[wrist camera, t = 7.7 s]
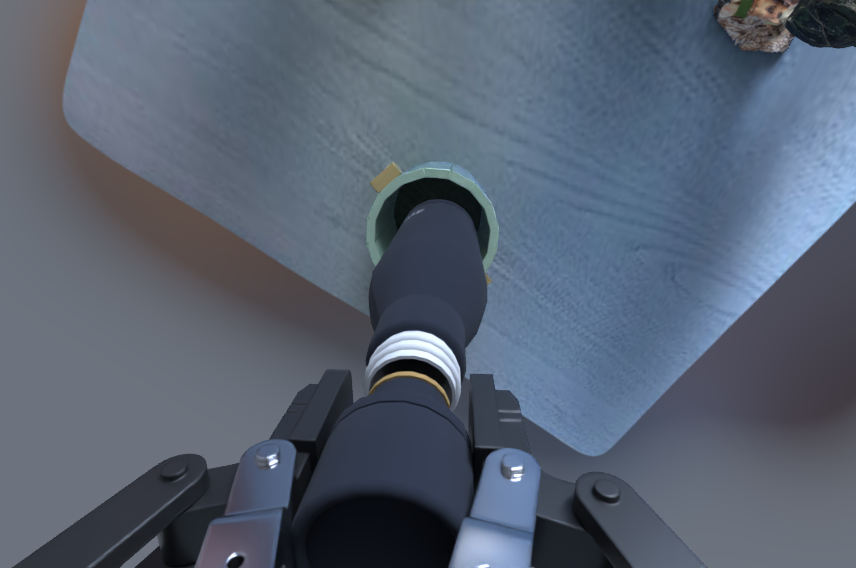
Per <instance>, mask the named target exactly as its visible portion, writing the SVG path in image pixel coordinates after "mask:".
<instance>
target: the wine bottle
mask: <svg viewBox="0 0 856 568" xmlns="http://www.w3.org/2000/svg"><path fill="white" fill-rule="evenodd" d="M486 304H487V280H486V276H485V271H484V267H483V262H482V257H481V253H480V248H479V244H478V239H477V234H476V230H475V227H474V224H473V221H472V219H471V217H470V216H469V215H468V213H467V212H466V211H465V210H464V209H463V208H462V207H460V206H459V205H457V204H456V203H454V202H451V201H447V200H444V199H435V200H428V201H426V202H423V203H421V204H418V205H417V206H416V207H415V208H414V209H413V210H411V211H410V212H409V214H408V215H407V217H406V219H405V220H404V222H403V223H402V225H401V227H400V228H399V230H398V231H397V233H396V235H395V236H394V238H393V240H392V241H391V243H390V244H389V246H388V248H387V249H386V251H385V252H384V254H383V256H382V257H381V259H380V261H379V262H378V264H377V265H376V267H375V269H374V270H373V274H372V279H371V283H370V288H369V310H370V318H371V324H372V327H373V329H374V335H373V337H372V340H371V342H370V344H369V348H368V352H367V357H366V366H367V368H366V372H365V375H364V380H363V386H364V394H365V397H363V398H360V399H359V400H357V401H356V402H355V403H353V404H352V405H351V406H349V407H348V408H346V409H345V410H344V411H343V412H342V414H341V415H340V417H339V418H338V420H337V421H336V423H335V424H334V426H333V428H332V430H331V433H330V435H329V438H328V440H327V442H326V444H325V447H324V449H323V451H322V454H321V456H320V459H319V461H318V463H317V466H316V468H315V470H314V473H313V475H312V477H311V480H310V482H309V484H308V487H307V489H306V492H305V494H304V496H303V499H302V501H301V503H300V506H299V508H298V510H297V513H296V515H295V517H294V520H293V522H292V526H291V547H292V555H293V562H294V568H448V567H449V563H450V560H451V557H452V554H453V550H454V547H455V544H456V540H457V537H458V534H459V530H460V527H461V524H462V521H463V518H464V516H465V515H467V516H469V515H470V512H471V508H472V505H473V502H474V484H473V465H472V445H471V440H470V438H469V436H468V434H467V431H466V429H465V427H464V424H463V423H462V422H461V421H460V420H459V419H458V418H457V417H456V415H455V414H454V413H453V410H454V409H455V408H456V406H457V404H458V401H459V397H460V394H461V384H462V382H463V378H464V375H465V372H466V357H465V348H466V347H467V346H468V344H469V343H470V342H471V340H472V339H473V338H474V336H475V335H476V334H477V331H478V329H479V326H480V323H481V320H482V317H483V314H484V311H485V307H486Z"/></svg>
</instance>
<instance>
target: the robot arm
mask: <svg viewBox="0 0 856 568" xmlns="http://www.w3.org/2000/svg"><path fill="white" fill-rule="evenodd" d="M352 404H353V391H352V377H351V372H350V370H333V369H330V370H329V369H327V370H326V371H325V373H324V375H323V377H322V379H321V380H320V382H319V384H309V385H308V386H306V387H305V388H304V389H303V390H301V391H300V392H298V393H297V395H296V397H295V398H294V400H293V402H292V404H291V405H290V406H289V408H288V410H287V413H286V414H284V416H283V418H282V419H281V421H280V423H279V424H278V426H277V428H276V429H275V431H274V432H273V434H272V435H271V437H270V439H269V440H266V441H262V442H260V443H257V444H255V445H254V446H252V447H251V448H249V449H248V450H247V451H246V452H245V453H244V454H243V455H242V457H241V459H240V462H239V463H237V464H232V465H228V466H222V467H217V468H212V469H207V464H206V460H205V459H204V458H203V457H202V456H200V455H196V454H183V455H178V456H175V457H171V458H169V459H167V460H165V461H163V462H161V463H159V464H158V465H156V466H155V467H153V468H152V469H150V470H149V471H148V472H146V473H145V474H144V475H142V476H141V477H139V478H138V479H136V480H135V481H134V482H132V483H131V484H129V485H128V486H126V487H125V488H124V489H122V490H121V491H119V492H118V493H117V494H115V495H114V496H112V497H111V498H110V499H108V500H107V501H105V502H104V503H102V504H101V505H100V506H98V507H97V508H95V509H94V510H93V511H91V512H90V513H88V514H87V515H86V516H84V517H83V518H81V519H80V520H79V521H77V522H76V523H74V524H73V525H72V526H70V527H69V528H67V529H66V530H65V531H63V532H62V533H60V534H59V535H57V536H56V537H55V538H53V539H52V540H50V541H49V542H48V543H46V544H45V545H43V546H42V547H40V548H39V549H38V550H36V551H35V552H33V553H32V554H31V555H29V556H28V557H27V558H25V559H24V560H22V561H21V562H20V563H18V564H17V565H15V566H14V567H12V568H120V567H121V566H122V565H123V564H124V563H125V562H126V561H127V560H129V559H130V558H131V557H132V556H133V555H134V554H135V553H137V552H138V551H139V550H140V549H141V548H142V547H144V546H145V545H146V544H147V543H148V542H149V541H151V540H152V539H153V538H154V537H155V536H156V535H157V538H158V542H159V546H158V547H157V548H156V549H155V550H154V551H153V552H152V553H151V554H149V555H148V556H147V557H146V558H145V559H144V560H143V561H142V562H140V563H139V564H138V565H137V566H136V567H135V568H294V562H293V555H292V547H291V526H292V522H293V520H294V517H295V515H296V513H297V510H298V508H299V506H300V503H301V501H302V499H303V496H304V494H305V492H306V489H307V487H308V484H309V482H310V480H311V477H312V475H313V473H314V470H315V468H316V466H317V463H318V461H319V459H320V456H321V454H322V451H323V449H324V447H325V444H326V442H327V440H328V438H329V435H330V433H331V430H332V428H333V426H334V424H335V423H336V421H337V420H338V418H339V417H340V415H341V414H342V412H343V411H344V410H345V409H346V408H348V407H349V406H351V405H352ZM469 438H470V440H471V445H472V465H473V484H474V502H473V505H472V508H471V512H470V515H469V516H467V515H465V516H464V518H463V521H462V524H461V527H460V530H459V534H458V537H457V540H456V544H455V547H454V550H453V554H452V557H451V560H450V563H449V567H448V568H531V566H532V567H535V568H707V567H706V566H705V565H704V563H703V562H702V561H701V560H700V559H699V558H698V557H697V556H696V555H695V554H694V553H693V552H692V551H691V550H690V549H689V548H688V547H687V546H686V544H685V543H684V542H683V541H682V540H681V539H680V538H679V537H678V536H677V535H676V534H675V533H674V532H673V531H672V530H671V529H670V527H669V526H668V525H667V524H666V523H665V522H664V521H663V520H662V519H661V518H660V517H659V516H658V515H657V514H656V513H655V512H654V511H653V510H652V508H650V507H649V505H648V504H647V503H646V502H645V501H644V500H643V499H642V498H641V497H640V496H639V495H638V494H637V493H636V492H635V491H634V489H632V487H630V486H629V485H628V484H627V483H626V482H624V481H623V480H621V479H620V478H618V477H616V476H613V475H610V474H607V473H603V472H589V473H586V474H583V475H581V476H580V477H579V478H578V479H577V481H576V484H574V483H570V482H567V481H563V480H560V479H557V478H555V477H553V476H550V475H549V474H547V473H545V472H544V471H542V470H541V468H540V465H539V463H538V462H537V460H535V458H534V457H533V456H531V452H530V448H529V443H528V439H527V435H526V431H525V426H524V423H523V418H522V414H521V409H520V405H519V401H518V399H517V398H516V397H515V396H514V395H513V394H512V393H511V392H510V391H509V390H495V385H494V379H493V374H470V391H469Z"/></svg>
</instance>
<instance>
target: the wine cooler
mask: <svg viewBox="0 0 856 568" xmlns="http://www.w3.org/2000/svg"><path fill="white" fill-rule="evenodd" d="M425 177H426V178H437V179H448V180H450V181H452V182H454V183H456V184H458V185H460V186H462V187H463V188H465V189H467V190H469V191H470V192H471V193H472V195H473V196H474V197H475V198H476V200H477V201H478V202H479V203H480V205H481V208H482V212H481V220H480V227H479V229H478V230H477V232H476V234H477V239H478V244H479V248H480V253H481V257H482V262H483V267H484V271H485V276H486V280H487V285H488V284H489V283H491V282H492V279H491V276H490V275H489V274H488V273H487V270H488V268H489V267H490V265H491V263H492V262H493V260H494V258H495V255H496V252H497V245H498V237H499V226H498V222H497V219H496V215H495V211H494V208H493V205H492V203H491V201H490V199H489V198H488V196H487V194H486V192H485V190H484V189H483V187H482V186H481V185H480V183H479V182H478V181H477V180H476V178H475V177H474V176H473V175H472V173H470V172H469V171H467V170H465V169H464V168H462V167H460V166H458V165H456V164H454V163H451V162H441V161H432V162H431V161H429V162H426V163H423V164H420V165H417V166H414V167H412V168H410V169H409V170H407V171H405V172H404V173H403V171H402V169H401V168H400V167H399V166H398V165H397V163H396V162H393V163H391V164H390V165H389V166H388V167H387V168H386V169H385V170H383V171H382V172H381V173H380V174H379V175H378V176H377V177H376V178H375V179H373V180H372V181H371V182H370V185H371V186H372V187H373V188H374V189H375V190H376V192H377V193H379V194H378V195H377V197H376V199H375V201H374V203H373V205H372V207H371V210H370V212H369V214H368V216H367V217H368V218H367V225H366V243H367V244H366V245H367V248H368V250H369V253H370V256H371V259H372V261H373V264H374V266H376V265H377V264H378V262H379V261H380V259H381V257H382V256H383V254H384V252H385V251H386V249H387V248H388V246H389V244H390V243H391V241H392V240H393V238H394V236H395V235H396V233H397V231H398V229H397V226H396V223H395V220H394V206H395V199H396V197H397V195H398V193H399V191H400V189H401V187H402V185H403V184H406V183H409V182H413V181H416V180H419V179H422V178H425Z"/></svg>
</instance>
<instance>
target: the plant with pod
mask: <svg viewBox="0 0 856 568" xmlns="http://www.w3.org/2000/svg"><path fill="white" fill-rule="evenodd" d="M714 16H715V19H717V21H719V23H720V25H722V28H723V29H725V31H726V32H728V34H729V36H731V37H732V40H735V39H736V41H735V45H737V44H738V43H740V42H741V43H740V46H739V48H740V49H742V50H743V51H745V50H746V49H747V51H749V50H750V51H751V52H752V51H756V50H757V51H758V50H760V51H765V52H766V53H768V52H773V53H774V50H775V52H776V53H777V52H780V51H781V52H782V53H783V51H786V49H785V48H788V49H789V47H788V46H789V45H790V44H789V43H790V42H791V39H792V38H793V37H794V36H795V37H797V38H799V39H800V40H802V41H803V42H806V43H808V44H809V45H811V46H813V47H819V48H821V47H832V48H845V47H850V46H854V47H856V0H723V1H721V0H719V4H718V5H714ZM719 23H718V24H719Z"/></svg>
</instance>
